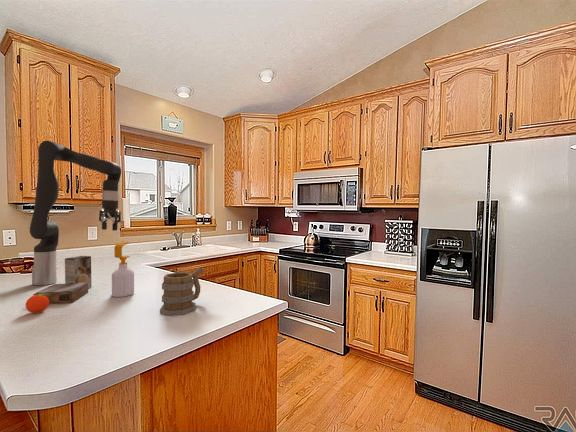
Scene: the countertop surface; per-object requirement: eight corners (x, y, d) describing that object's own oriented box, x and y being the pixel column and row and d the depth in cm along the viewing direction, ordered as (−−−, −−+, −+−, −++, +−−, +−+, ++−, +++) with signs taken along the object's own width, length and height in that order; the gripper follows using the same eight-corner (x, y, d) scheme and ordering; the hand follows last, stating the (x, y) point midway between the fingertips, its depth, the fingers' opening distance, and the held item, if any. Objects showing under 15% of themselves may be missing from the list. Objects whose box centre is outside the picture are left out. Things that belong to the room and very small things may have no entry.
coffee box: (81, 286, 151) (81, 255, 151) (91, 287, 150) (91, 255, 149) (64, 291, 142) (64, 258, 142) (75, 292, 141) (75, 258, 140)
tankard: (174, 318, 108) (174, 277, 107) (154, 311, 114) (154, 273, 114) (215, 303, 125) (215, 268, 124) (194, 298, 131) (195, 265, 131)
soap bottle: (138, 292, 140) (138, 241, 140) (122, 298, 131) (121, 243, 131) (124, 291, 143) (124, 240, 143) (107, 296, 134) (107, 242, 134)
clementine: (50, 307, 118) (50, 290, 118) (54, 311, 114) (54, 293, 114) (23, 312, 112) (23, 294, 112) (27, 317, 108) (27, 297, 108)
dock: (31, 306, 120) (31, 293, 120) (53, 294, 136) (53, 283, 136) (71, 303, 123) (71, 291, 123) (88, 292, 140) (87, 282, 140)
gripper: (94, 199, 156) (93, 229, 156) (112, 199, 150) (111, 231, 151) (108, 199, 163) (107, 229, 163) (125, 200, 157) (124, 230, 157)
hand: (109, 230), depth 157 cm, fingers open, 8 cm apart
